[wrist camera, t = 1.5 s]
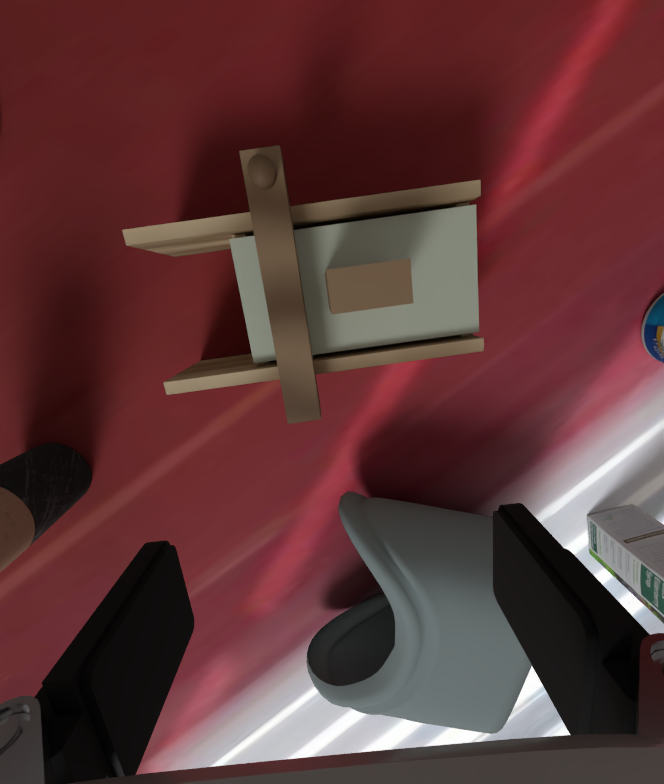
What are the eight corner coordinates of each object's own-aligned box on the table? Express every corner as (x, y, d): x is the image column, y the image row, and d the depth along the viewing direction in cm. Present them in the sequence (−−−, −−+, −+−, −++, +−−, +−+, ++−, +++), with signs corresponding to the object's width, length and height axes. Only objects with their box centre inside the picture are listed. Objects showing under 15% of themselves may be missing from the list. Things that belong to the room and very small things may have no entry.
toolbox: (172, 245, 34) (122, 229, 25) (438, 208, 34) (480, 179, 25) (202, 370, 37) (166, 394, 28) (445, 336, 37) (483, 350, 28)
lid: (233, 241, 27) (203, 224, 20) (469, 208, 27) (520, 180, 20) (256, 360, 30) (237, 381, 23) (472, 330, 30) (519, 342, 23)
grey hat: (450, 642, 48) (490, 764, 35) (308, 620, 47) (298, 736, 35) (501, 497, 42) (569, 581, 30) (340, 469, 41) (341, 543, 29)
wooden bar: (245, 162, 24) (234, 143, 21) (282, 156, 24) (277, 137, 21) (290, 414, 29) (286, 429, 26) (321, 410, 29) (321, 424, 26)
